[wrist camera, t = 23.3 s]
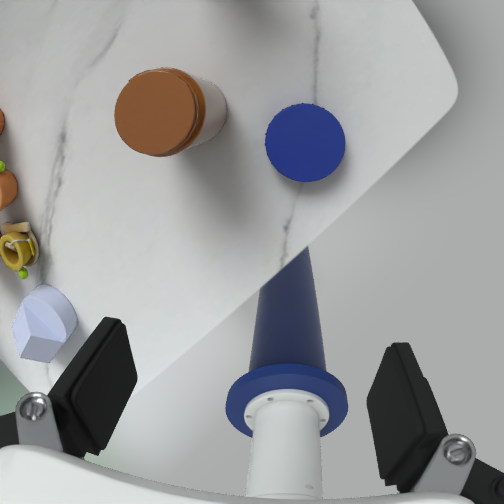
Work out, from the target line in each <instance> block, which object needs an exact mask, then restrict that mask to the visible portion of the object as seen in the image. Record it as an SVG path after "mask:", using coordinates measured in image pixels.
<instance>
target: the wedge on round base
mask: <svg viewBox="0 0 504 504" xmlns="http://www.w3.org/2000/svg"><path fill="white" fill-rule="evenodd" d="M76 326H77V317H76V313H75V311H74V308H73V307H72V305H71V303H70V302H69V300H68V299H67V298H66V297H65V296H64V295H63V294H62V293H61V292H60V291H59V290H57V289H56V288H54V287H52V286H49V285H39V286H37V287H36V288H35V289H34V290H33V291H32V292H31V293H30V294H28V295H27V296H26V297H25V298H24V299H23V301H22V303H21V305H20V308H19V310H18V312H17V315H16V317H15V320H14V322H13V325H12V330H13V334H14V338H15V342H16V346H17V350H18V353H19V357H20V358H24V359H29V360H34V361H39V362H45V363H50V362H51V360H52V359H53V358H54V356H55V355H56V353H57V352H58V351H59V349H60V348H61V347H62V345H63V344H64V343H65V341H66V340H67V339H68V337H69V336H70V335H71V334H72V332H73V331H74V330H75V328H76Z"/></svg>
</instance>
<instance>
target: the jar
mask: <svg viewBox="0 0 504 504" xmlns="http://www.w3.org/2000/svg"><path fill="white" fill-rule="evenodd" d="M226 115H227V105H226V101H225V98H224V96H223V94H222V92H221V91H220V89H219V88H218V87H217V86H215V85H214V84H213V83H211V82H209V81H207V80H204V79H202V78H199V77H197V76H194V75H192V74H189V73H186V72H184V71H181V70H178V69H174V68H157V69H153V70H147V71H144V72H142V73H139V74H137V75H136V76H134V77H133V78H132V79H130V80H129V83H128V84H127V85H126V86H125V87H124V88H123V90H122V91H121V93H120V95H119V97H118V99H117V102H116V106H115V115H114V116H115V124H116V128H117V131H118V133H119V135H120V137H121V138H122V140H123V141H124V142H125V143H126V144H127V145H128V146H129V147H130V148H132V149H133V150H135V151H137V152H140V153H143V154H147V155H150V156H155V157H166V156H171V155H174V154H177V153H179V152H182V151H184V150H187V149H189V148H191V147H194V146H196V145H199V144H201V143H203V142H206V141H208V140H210V139H211V138H213V137H214V136H215V135H216V134H217V133H218V132H219V131H220V130H221V128H222V126H223V125H224V122H225V120H226Z"/></svg>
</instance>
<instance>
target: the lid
mask: <svg viewBox="0 0 504 504" xmlns="http://www.w3.org/2000/svg"><path fill="white" fill-rule="evenodd" d="M265 135H266V139H265V146H266V151H267V155H268V157H269V159H270V161H271V164H273V166H274V167H275V168H276V169H277V170H278V172H280V173H281V174H283V175H284V176H286V177H288V178H290V179H292V180H296V181H301V182H312V181H317V180H320V179H322V178H324V177H326V176H328V175H329V174H331V173H332V172H333V171H334V170H335V169H336V168H337V167H338V165H339V164H340V162H341V160H342V158H343V155H344V151H345V136H344V132H343V129H342V127H341V125H340V123H339V122H338V120H337V119H336V118H335V117H334V116H333V114H331V113H330V112H329V111H327V110H325V109H324V108H321V107H319V106H316V105H314V104H303V103H301V104H297V105H291V106H290V107H287V108H286V109H284V110H283V109H282V111H281V112H279V113H278V114H277V115H276V116H274V119H273V120H272V121H271V123H270V124H269V127H268V129H267V133H266V134H265Z"/></svg>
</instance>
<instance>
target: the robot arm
mask: <svg viewBox="0 0 504 504" xmlns="http://www.w3.org/2000/svg"><path fill="white" fill-rule="evenodd" d="M136 383H137V372H136V368H135V364H134V360H133V356H132V352H131V348H130V344H129V339H128V335H127V330H126V326H125V324H122V322H121V320H120V319H116V318H111V317H104V318H103V319H102V321H101V322H100V323H99V325H98V326H97V327H96V329H95V330H94V331H93V333H92V334H91V335H90V336H89V338H88V339H87V340H86V342H85V343H84V344H83V346H82V347H81V349H80V350H79V351H78V353H77V354H76V355H75V357H74V358H73V359H72V361H71V362H70V364H69V365H68V366H67V368H66V369H65V370H64V372H63V373H62V375H61V376H60V378H59V379H58V380H57V382H56V383H55V385H54V386H53V388H52V389H51V390H50V392H49V393H48V395H45V394H43V393H40V392H31V393H29V394H26V395H24V396H23V397H22V398H21V399H20V400H19V401H18V403H17V405H16V411H15V412H12V413H9V414H6V415H3V416H0V504H504V473H503V472H501V471H499V470H497V469H495V468H493V467H491V466H489V465H487V464H486V463H484V462H482V461H480V460H478V459H476V458H475V456H476V449H475V446H474V444H473V442H472V441H471V440H470V439H469V438H467V437H466V436H464V435H461V434H450V435H448V432H447V429H446V426H445V424H444V421H443V418H442V415H441V413H440V410H439V408H438V405H437V402H436V400H435V398H434V395H433V392H432V390H431V387H430V385H429V383H428V381H427V379H426V378H425V377H423V374H422V372H421V370H420V367H419V365H418V363H417V360H416V358H415V356H414V353H413V351H412V349H411V346H410V344H409V343H393V344H392V345H391V347H387V348H386V350H385V353H384V356H383V359H382V361H381V364H380V367H379V369H378V372H377V374H376V377H375V379H374V382H373V384H372V387H371V389H370V391H369V394H368V397H367V409H368V413H369V418H370V423H371V429H372V434H373V439H374V445H375V450H376V456H377V462H378V468H379V474H380V478H381V479H385V486H391V485H397V490H398V493H397V494H391V495H382V496H373V497H360V498H345V499H323V498H322V468H321V446H320V430H321V429H322V428H323V427H324V426H325V425H326V424H327V422H328V420H329V408H328V405H327V404H326V402H325V401H324V400H323V399H322V398H321V397H319V396H317V395H316V394H313V393H311V392H308V391H303V390H298V389H278V390H272V391H268V392H265V393H262V394H260V395H258V396H256V397H255V398H253V399H252V400H251V401H250V402H249V403H248V404H247V406H246V408H245V413H244V419H245V422H246V424H247V426H248V427H249V428H250V429H251V430H253V436H252V445H251V453H250V462H249V470H248V478H247V486H246V495H245V496H235V495H227V494H220V493H213V492H206V491H200V490H194V489H189V488H184V487H179V486H174V485H169V484H165V483H160V482H156V481H152V480H148V479H144V478H140V477H136V476H133V475H130V474H126V473H123V472H119V471H116V470H113V469H109V468H106V467H103V466H100V465H97V464H94V463H91V462H89V461H86V460H85V459H84V456H85V454H86V452H88V453H91V454H94V455H97V456H98V455H99V453H100V451H101V450H104V449H105V448H106V446H107V444H108V442H109V440H110V438H111V435H112V433H113V431H114V429H115V427H116V425H117V423H118V421H119V418H120V416H121V414H122V412H123V410H124V408H125V406H126V404H127V402H128V400H129V398H130V396H131V393H132V391H133V389H134V387H135V385H136Z"/></svg>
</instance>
